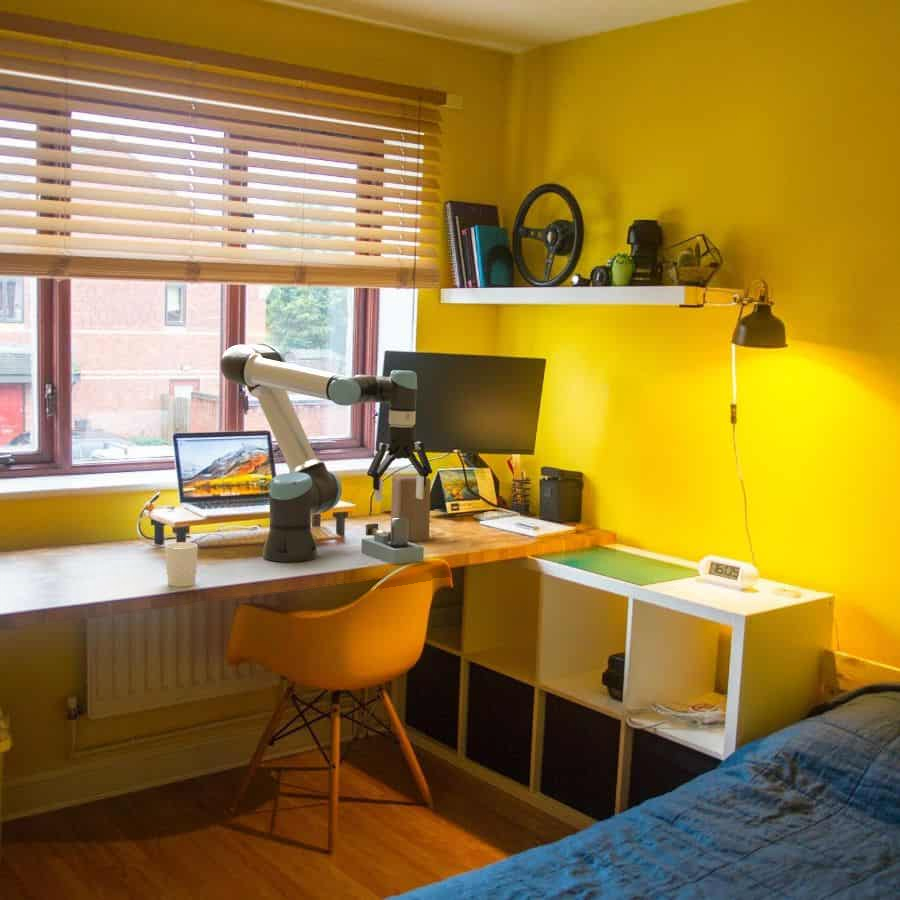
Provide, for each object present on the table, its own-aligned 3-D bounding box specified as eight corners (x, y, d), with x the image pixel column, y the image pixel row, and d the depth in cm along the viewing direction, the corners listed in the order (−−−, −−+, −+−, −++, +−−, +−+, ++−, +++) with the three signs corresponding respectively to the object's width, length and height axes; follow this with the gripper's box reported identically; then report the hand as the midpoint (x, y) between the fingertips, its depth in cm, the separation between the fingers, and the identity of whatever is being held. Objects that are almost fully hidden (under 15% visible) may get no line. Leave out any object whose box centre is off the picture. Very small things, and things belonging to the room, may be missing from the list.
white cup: (192, 579, 283) (192, 541, 282) (201, 586, 276) (201, 547, 275) (162, 582, 279) (162, 543, 278) (170, 589, 272) (169, 549, 271)
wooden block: (389, 536, 345) (391, 473, 342) (420, 535, 348) (421, 473, 346) (398, 543, 335) (400, 478, 333) (430, 541, 339) (431, 477, 336)
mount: (393, 564, 306) (393, 542, 305) (361, 552, 321) (361, 531, 320) (423, 560, 311) (423, 539, 311) (390, 549, 326) (391, 528, 325)
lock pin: (381, 541, 317) (381, 529, 317) (365, 535, 324) (365, 524, 324) (392, 540, 319) (392, 528, 319) (376, 534, 326) (376, 523, 326)
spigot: (387, 558, 313) (387, 517, 312) (401, 556, 316) (402, 515, 315) (396, 561, 309) (397, 520, 308) (411, 560, 312) (412, 518, 311)
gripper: (370, 428, 298) (367, 504, 301) (446, 426, 312) (443, 499, 315) (356, 425, 304) (354, 500, 307) (431, 423, 318) (428, 495, 321)
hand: (399, 500), depth 311 cm, fingers open, 13 cm apart
